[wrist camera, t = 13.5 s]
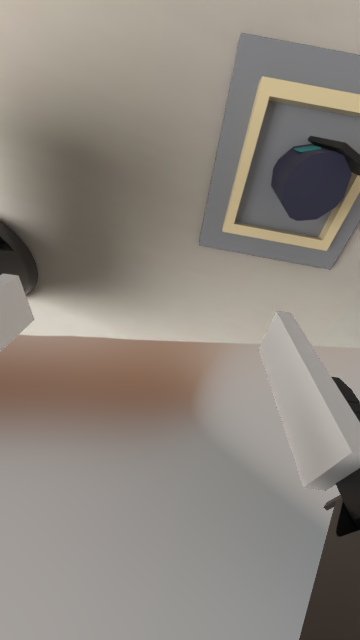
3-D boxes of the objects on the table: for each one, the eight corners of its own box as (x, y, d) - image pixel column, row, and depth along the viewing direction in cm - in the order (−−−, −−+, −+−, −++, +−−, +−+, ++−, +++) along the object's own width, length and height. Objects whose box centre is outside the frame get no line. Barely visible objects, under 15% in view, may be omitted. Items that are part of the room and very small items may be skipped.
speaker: (326, 113, 22) (380, 105, 15) (344, 165, 25) (399, 180, 17) (258, 170, 26) (273, 187, 19) (280, 210, 29) (301, 239, 21)
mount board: (198, 243, 33) (198, 248, 31) (239, 37, 21) (243, 24, 19) (327, 267, 33) (335, 273, 31) (439, 75, 21) (464, 65, 19)
